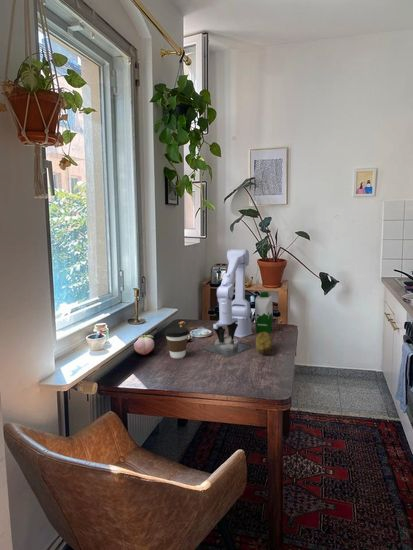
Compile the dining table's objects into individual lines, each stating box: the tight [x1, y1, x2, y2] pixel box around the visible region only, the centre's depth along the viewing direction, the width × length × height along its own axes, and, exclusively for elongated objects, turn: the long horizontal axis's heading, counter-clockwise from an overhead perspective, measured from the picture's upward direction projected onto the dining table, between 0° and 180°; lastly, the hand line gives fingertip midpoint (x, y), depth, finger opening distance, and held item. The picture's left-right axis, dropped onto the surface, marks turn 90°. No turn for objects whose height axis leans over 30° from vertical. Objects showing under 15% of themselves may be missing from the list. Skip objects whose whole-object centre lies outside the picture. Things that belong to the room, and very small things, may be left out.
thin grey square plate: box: [201, 337, 252, 358], centre depth 188 cm, size 16×16×4 cm
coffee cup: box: [164, 326, 190, 359], centre depth 181 cm, size 11×11×12 cm
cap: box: [222, 334, 232, 344], centre depth 188 cm, size 5×5×5 cm
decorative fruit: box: [133, 333, 155, 356], centre depth 184 cm, size 9×8×10 cm
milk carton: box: [254, 291, 274, 334], centre depth 212 cm, size 9×9×20 cm
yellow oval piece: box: [255, 332, 273, 355], centre depth 183 cm, size 8×13×8 cm, turn 159°
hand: (226, 340), depth 188 cm, fingers open, 6 cm apart
